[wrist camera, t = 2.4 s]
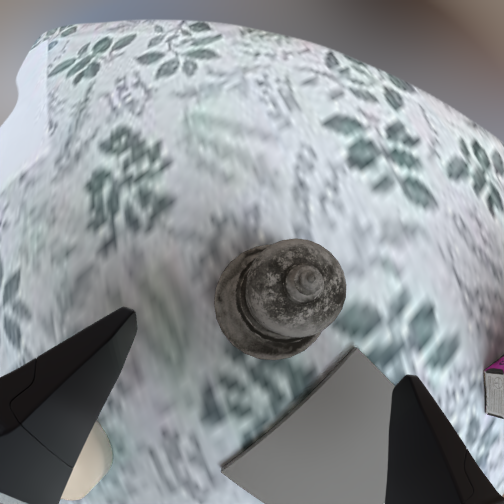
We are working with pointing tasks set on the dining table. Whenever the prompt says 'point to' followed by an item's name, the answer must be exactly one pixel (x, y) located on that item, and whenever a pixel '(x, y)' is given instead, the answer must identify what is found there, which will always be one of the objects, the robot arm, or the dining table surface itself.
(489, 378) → the candy bar box
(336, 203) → the dining table surface
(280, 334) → the grey chess piece
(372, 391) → the mat
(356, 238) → the dining table surface
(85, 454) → the cream rounded squat cylinder
